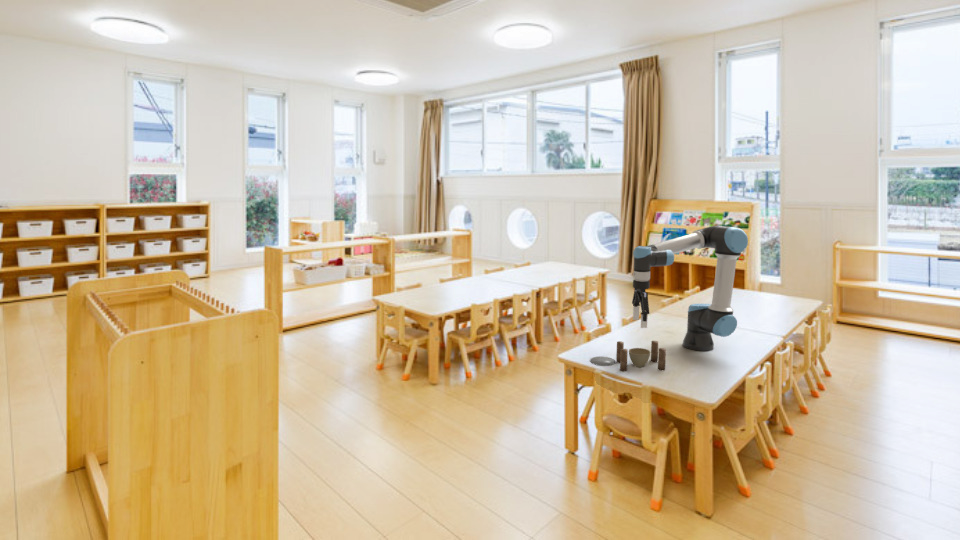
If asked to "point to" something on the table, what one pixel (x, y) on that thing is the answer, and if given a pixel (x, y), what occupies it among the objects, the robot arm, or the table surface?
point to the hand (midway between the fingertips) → (639, 323)
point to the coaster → (603, 361)
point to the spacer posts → (661, 358)
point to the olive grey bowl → (639, 356)
